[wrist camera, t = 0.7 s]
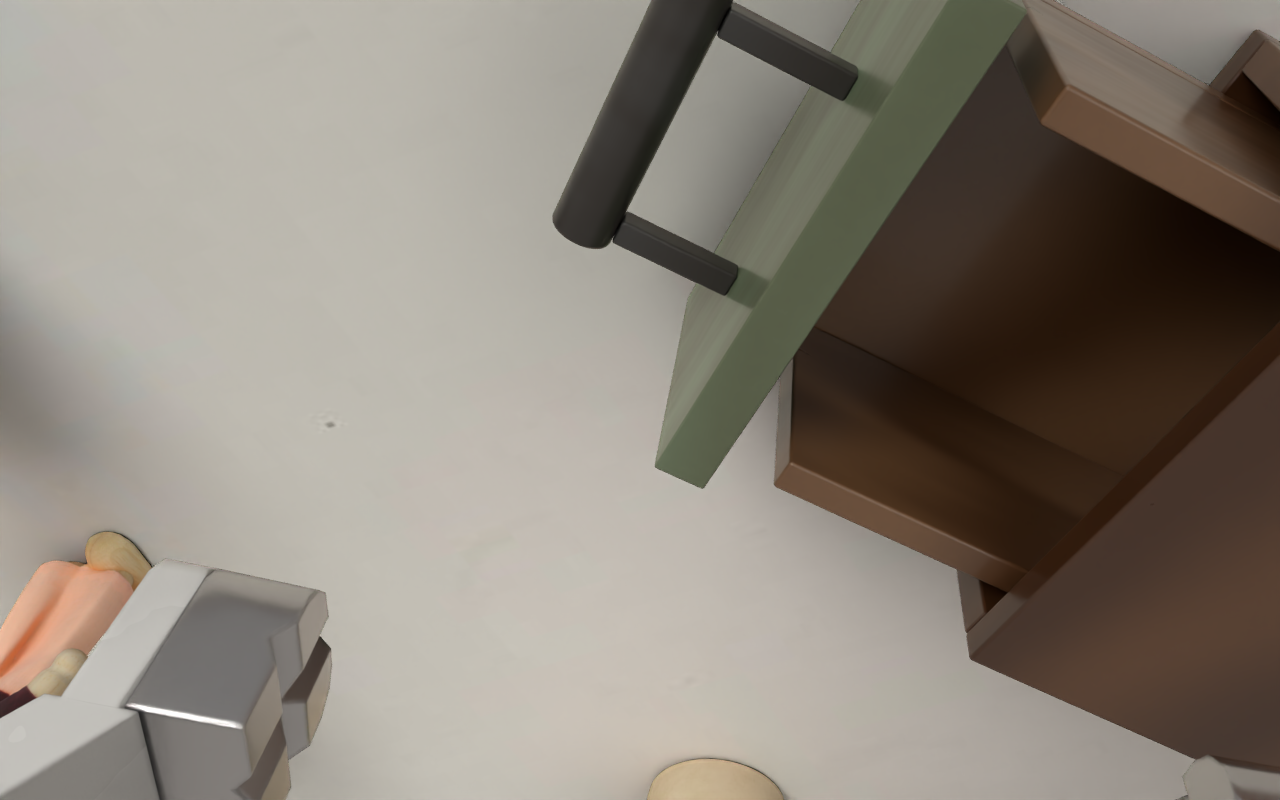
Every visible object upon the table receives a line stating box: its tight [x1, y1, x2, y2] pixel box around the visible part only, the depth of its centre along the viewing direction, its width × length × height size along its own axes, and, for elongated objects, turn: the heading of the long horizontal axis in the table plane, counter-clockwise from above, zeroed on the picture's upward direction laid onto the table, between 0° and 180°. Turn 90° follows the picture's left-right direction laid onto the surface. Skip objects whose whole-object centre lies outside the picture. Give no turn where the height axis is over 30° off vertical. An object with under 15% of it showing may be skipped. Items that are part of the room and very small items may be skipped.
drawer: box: [553, 0, 1280, 593], centre depth 24 cm, size 18×11×7 cm, turn 65°
